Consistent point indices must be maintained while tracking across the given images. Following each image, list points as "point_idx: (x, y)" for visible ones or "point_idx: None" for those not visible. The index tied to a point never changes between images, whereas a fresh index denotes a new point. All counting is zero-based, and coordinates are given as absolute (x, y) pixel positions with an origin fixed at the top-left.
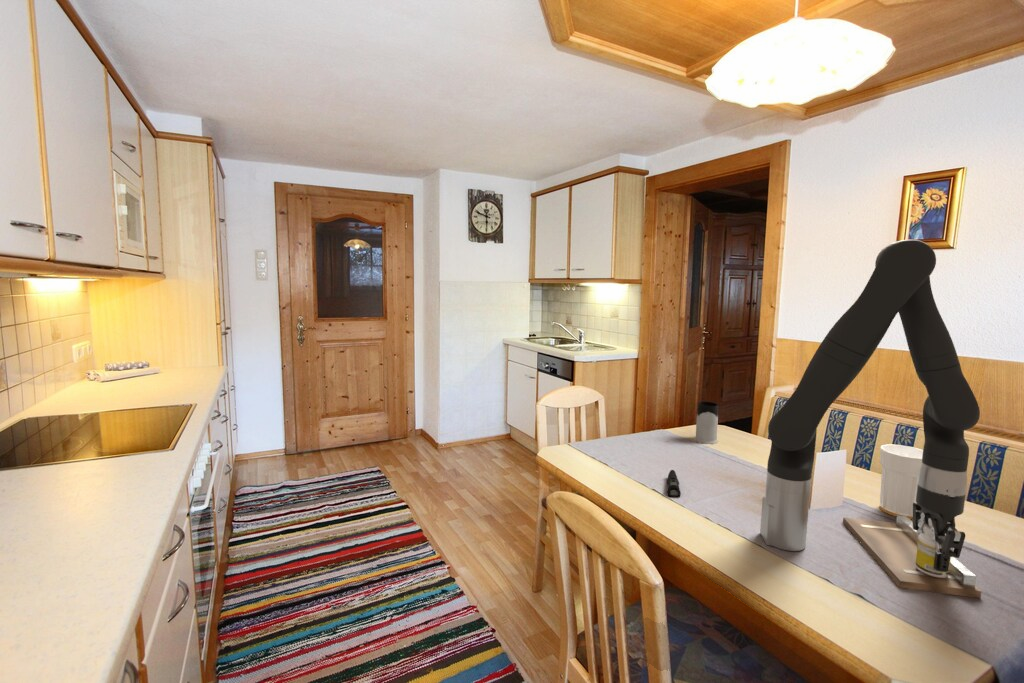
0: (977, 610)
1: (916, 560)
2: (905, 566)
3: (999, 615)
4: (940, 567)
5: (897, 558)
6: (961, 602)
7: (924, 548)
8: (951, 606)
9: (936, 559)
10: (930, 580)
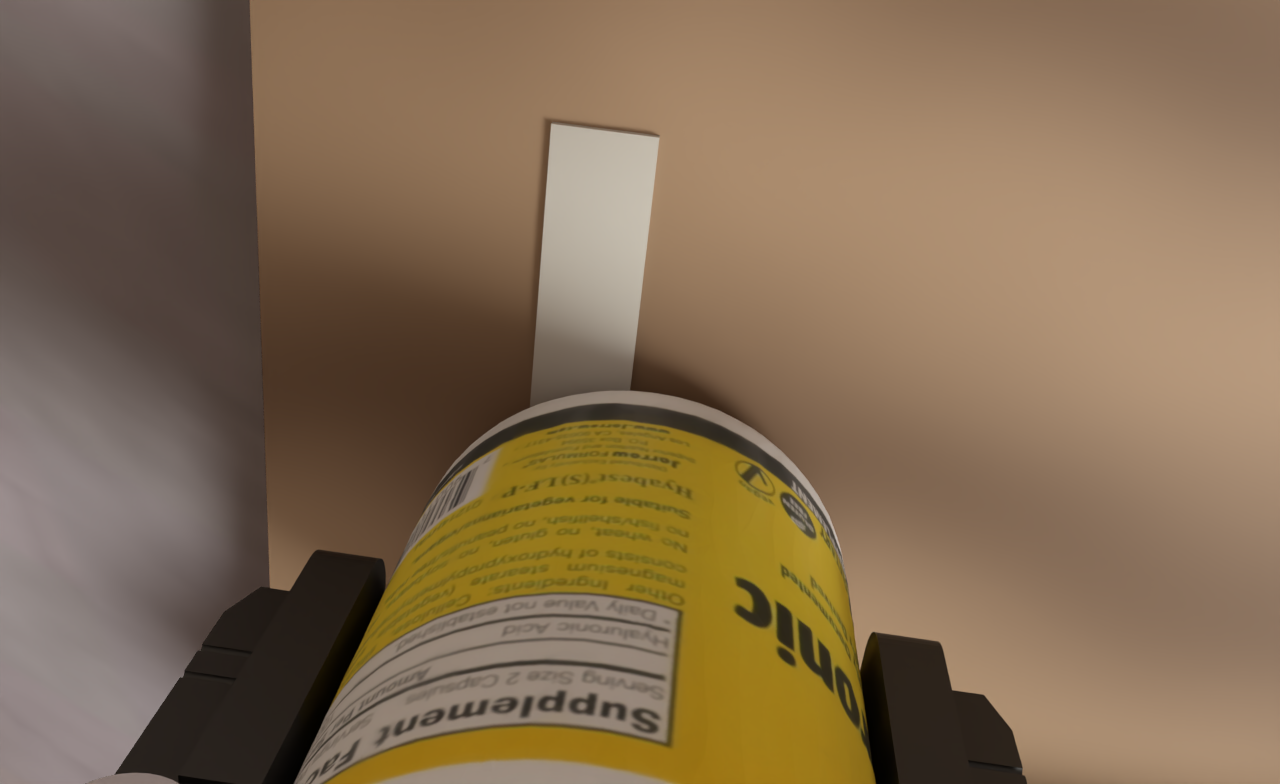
0: (28, 572)
1: (690, 454)
2: (786, 267)
3: (10, 721)
4: (218, 620)
5: (1057, 296)
6: (150, 510)
7: (440, 682)
8: (3, 329)
9: (246, 677)
10: (387, 392)
